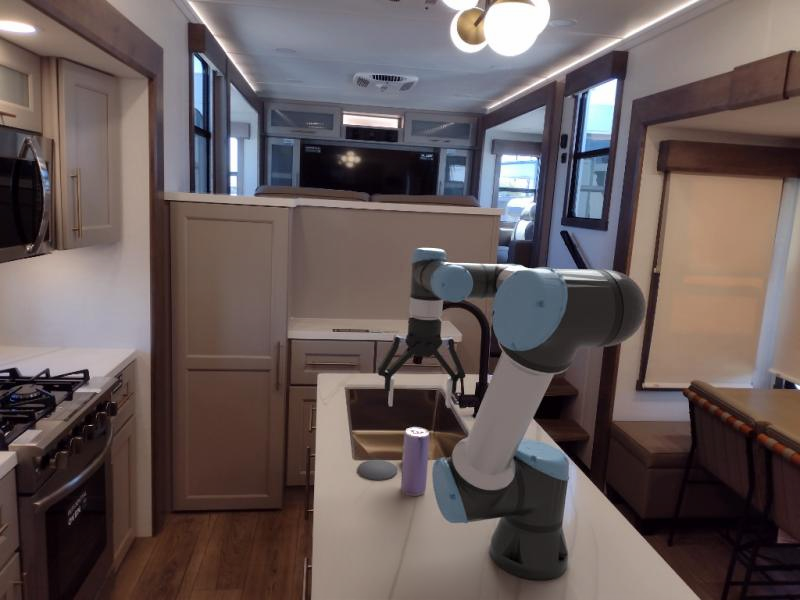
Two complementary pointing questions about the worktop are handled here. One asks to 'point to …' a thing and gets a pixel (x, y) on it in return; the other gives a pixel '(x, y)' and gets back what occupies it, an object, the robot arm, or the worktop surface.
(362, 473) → the coaster
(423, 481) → the beverage can
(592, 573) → the worktop surface
